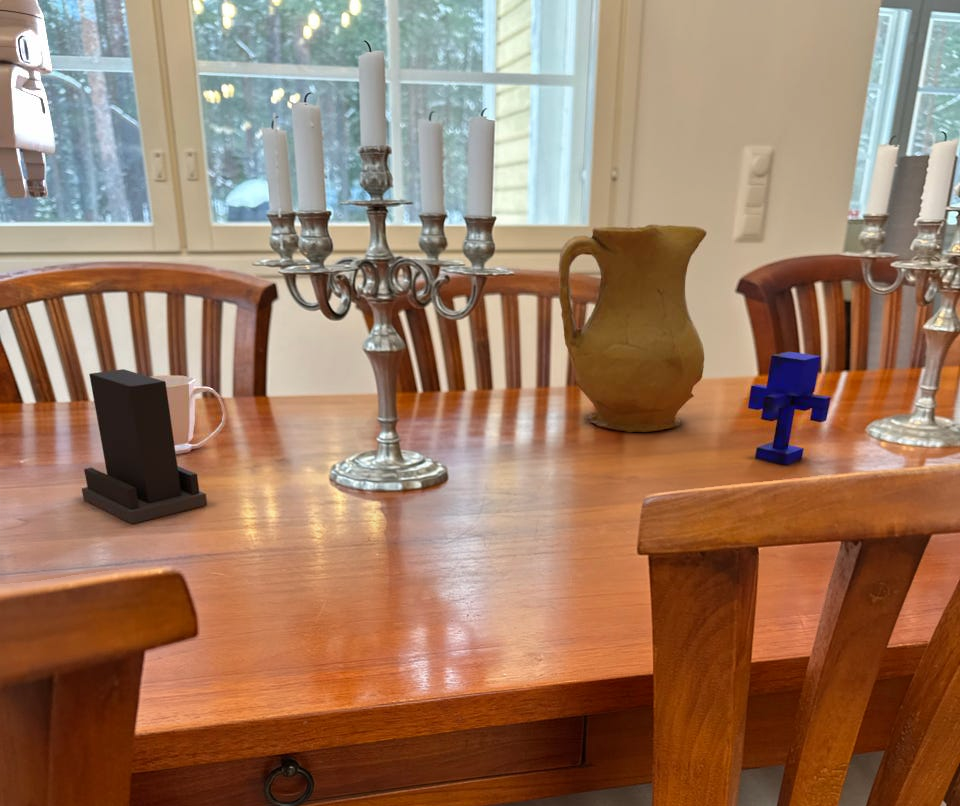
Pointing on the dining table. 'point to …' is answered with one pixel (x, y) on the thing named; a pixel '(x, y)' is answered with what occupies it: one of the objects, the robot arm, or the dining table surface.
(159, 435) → the upright pad
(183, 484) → the base pad
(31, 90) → the robot arm
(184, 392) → the cup
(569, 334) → the pitcher
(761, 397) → the figurine
